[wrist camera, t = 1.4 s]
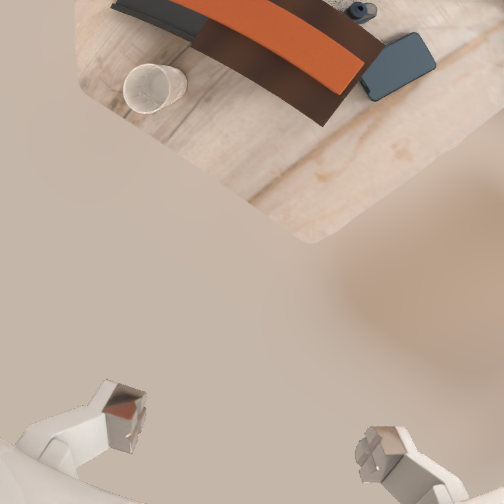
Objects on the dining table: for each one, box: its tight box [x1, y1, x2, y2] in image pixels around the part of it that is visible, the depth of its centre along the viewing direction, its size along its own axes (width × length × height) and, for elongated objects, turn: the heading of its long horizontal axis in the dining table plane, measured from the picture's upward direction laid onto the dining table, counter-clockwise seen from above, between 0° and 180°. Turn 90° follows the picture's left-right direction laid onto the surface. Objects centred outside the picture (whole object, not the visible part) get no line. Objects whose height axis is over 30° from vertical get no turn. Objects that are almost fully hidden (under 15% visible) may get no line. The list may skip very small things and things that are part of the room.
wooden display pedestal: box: [190, 0, 386, 127], centre depth 33 cm, size 14×10×26 cm
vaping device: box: [343, 2, 377, 24], centre depth 33 cm, size 3×5×12 cm, turn 116°
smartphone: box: [358, 32, 436, 102], centre depth 41 cm, size 8×2×15 cm
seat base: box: [110, 0, 209, 43], centre depth 39 cm, size 24×12×2 cm, turn 57°
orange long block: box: [170, 0, 364, 95], centre depth 20 cm, size 22×4×3 cm, turn 57°
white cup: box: [123, 64, 187, 114], centre depth 44 cm, size 8×8×10 cm
